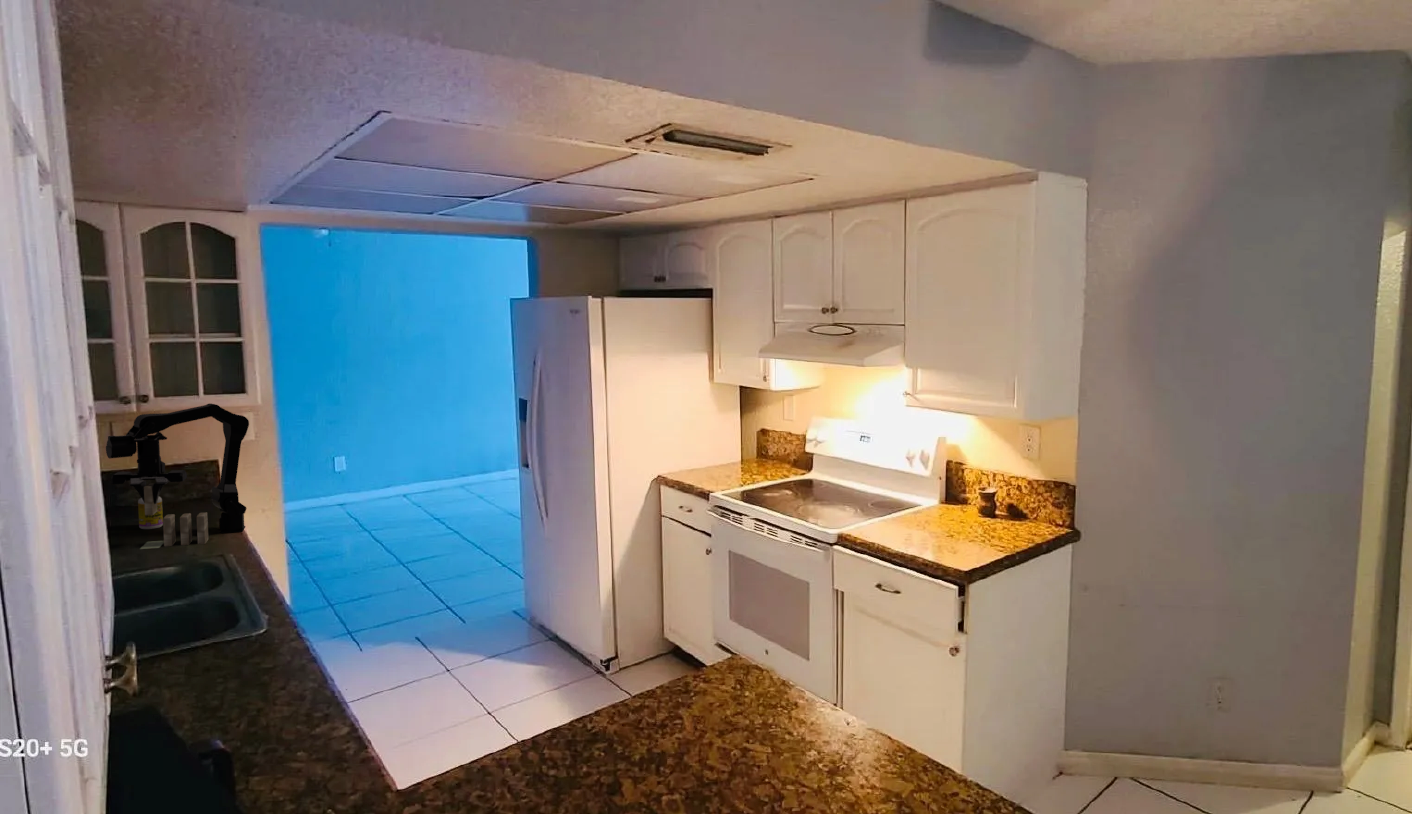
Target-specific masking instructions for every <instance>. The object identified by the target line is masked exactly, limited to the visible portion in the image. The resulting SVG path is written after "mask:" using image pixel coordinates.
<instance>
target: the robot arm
mask: <svg viewBox="0 0 1412 814" xmlns="http://www.w3.org/2000/svg"><path fill="white" fill-rule="evenodd" d="M206 418H212V419H215V420H216V421H218V422H220V423H222V431H223V435H224V439H225V441H224V442H225V443H224V451H223V457H222V465H221V472H220V479H219V483H218V485H217V486H212V487H211V496H210V498H209V499H210V500H211V502H212V504H213V506H214V507H217V508H218V510H219V512H220V517H219V518H218V521H219V523H218V524H219V531H220V532H219V533H221V534H226V533H227V534H228V533H241V532H244V530H245V528H246V525H245V514H246V512H247V506H246V505H244V504H243V503H241V502H240V500H239V491H238V488H237V475H238V469H239V462H240V455H241V454H240V453H241V448H242V447H241V446H242V441H243V439H244V438H245V436H246V435H247V432H248V429H249V426H250V421H249V419H248V418H247V417H246V416H244V415H240V414H236V413H233V412H232V411H231V412H230V411H229V410H226V409H225V408H222V407H221V406H220V405H218V404H215V403H207V404H204V405H199V406H195V407H191V408H185V409H181V410H177V411H171V412H166V413H165V412H163V413H162V412H161V413H159V412H158V413H142V414H139V415H137V416H136V417H135V419H134V421H133V425H132V426H131V427H130V429H129V430H128V431H127V433H126V434H124V435H108V436H107V441H106V445H105V454H106V456H107V458H108V459H119V458H129V457H133V456H134V455H135V454H136V453H137V459H136V464H137V473H136V474H135V473H134V474H133V473H132V471H118V472H116V473H113V474H112V475H111V478H110V484H111V485H123V484H125V483H126V482H127V481H130V484H129V487H134V489H135V491H137V493H138V494H139V496H140V498H142V500H143V501H144V487H145V486H146V485H147V481H151V480H154V481H155V482H154V483H153V484H154V493H153V500H154V504H156V503H157V500H158V497H160V495H161V491H162V489H163V487H164V486H165V485H167V484H168V483H175V482H176V483H178V482H179V483H180V482H184V481H185V480H186V479H187V478H188V475H187V471H186V470H185V469H171V470H170V471H169V472H165V471H166V463H165V462H164V461H162V457H161V450H160V449H161V448H160V441H165V440H167V439H168V437H166V435H164V434H163V433H162V431H164V430H166V429H169V428H170V427H172V426H174V425H175V426H176V425H180V424H185V423H189V422H192V421H197V420H203V419H206ZM144 503H145V502H144Z"/></svg>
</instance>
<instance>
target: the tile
mask: <svg viewBox="0 0 1412 814" xmlns="http://www.w3.org/2000/svg"><path fill="white" fill-rule="evenodd" d="M153 493H154V483H147V484H146V486H145V487H144V502H145V515H154V514H155V513H156V512H157V503H156V504H154V500H153Z"/></svg>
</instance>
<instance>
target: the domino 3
mask: <svg viewBox="0 0 1412 814" xmlns="http://www.w3.org/2000/svg"><path fill="white" fill-rule="evenodd" d="M208 521H209V520H208V512H199V513H198V514H197V516H196V531H197V545H205V544H206V543H207V542H208V540H209V522H208Z"/></svg>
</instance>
